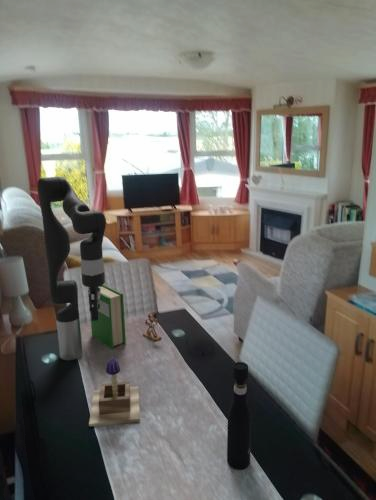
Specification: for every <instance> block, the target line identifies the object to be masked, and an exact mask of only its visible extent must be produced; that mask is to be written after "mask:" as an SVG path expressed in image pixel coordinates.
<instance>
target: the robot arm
mask: <svg viewBox="0 0 376 500" xmlns="http://www.w3.org/2000/svg"><path fill="white" fill-rule="evenodd" d="M36 190H37V196H38V201H39V207H40V212H41V218H42V227H43V237H44V238H43V239H44V246H45V247H44V248H45V254H46V255H45V256H46V261H47V269H48V271H47V272H48V286H49V289H48V290H49V297H50V301H51V303H52V305H64V304H68V305H67V306H65V307H63V308H62V307H61V308H60V309H59V310H57V312H56V314H55V320H56V329H57V330H56V331H57V339H58V347H59V357H60V359H61V360H64V361H74V360H77V359H79V358H81V357H82V356H83V343H82V331H81V320H80V311H79V310H80V309H79V290H78V289H79V288H78V283H77V281H75V280H73V279H71V280H70V279H69V280H59V281H58V277H59V274H60V271H61V269H62V268H63V266H64V264H65V262H66V261H67V259H68V257H69V255H70V252H71V244H70V242H71V241H70V235H69V232H68V231H67V229H66V228H65V226H64V224H62V223H61V222H60V220H59V219H58V218H57V217H56V215H55V213H54V212H53V208H52V204H51V203H57V202H58V203H59V202H62V210H63V212H64V214H65V215H66V216H67V217H68V218H69V219H70V221H71V225H72V228H73V230H74V233H77V234H79V235H87V234H91V235H90V237H88V238H86V239H84V240H82V241H80V243H79V251H80V274H81V284H82V286H83V287H86V288H89V290H87V295H88V304H89V305H88V306H89V312H90V311H91V315H90V318H91V317H92V321H97V320H98V319H99V317H98V310H99V309H100V301H99V299H100V292H101V288H100V287H99V286H101V285H103V284H104V285H105V283H106V275H105V263H104V257H103V254H104V253H103V242H104V235H105V231H106V227H107V219H106V218H107V217H106V216H105V213H104V212H103V211H101V210H99V209H98V210H97V209H96V210H95V209H94V210H90V208H89V206H88V205H87V204H85V202H84V201H83V200H81V199H80V197H78V195H77V194H76V191H75V190H74V188H73V187H72V185H71V183H70V182H69V181H68V179H67V178H65V177H63V176H52V177H51V176H50V177H41V178H39V179H38V180H37V185H36ZM92 305H93V307H92Z"/></svg>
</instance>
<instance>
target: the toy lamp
mask: <svg viewBox="0 0 376 500" xmlns="http://www.w3.org/2000/svg"><path fill="white" fill-rule="evenodd" d="M105 372H106V374H107V375H110V376H111V377H110V378H111V383H112V387H113V388H112V390H113V397H118V391H117V390H118V388H117V382H118V379H117V377H118V376H117V374H119V373H120V372H121V367H120V364H119V361H118V359H117V358H114V357H113V358H109V359H108V360H107V364H106V369H105Z"/></svg>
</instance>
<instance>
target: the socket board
mask: <svg viewBox="0 0 376 500" xmlns="http://www.w3.org/2000/svg"><path fill="white" fill-rule="evenodd" d="M112 388H113V387H112V382H105V383H104V382H103V383H100V388H99V389H97V390H93V395H92V401H91V408H90V415H89V421H88V426H89V427H98V426H99V427H100V426H108V425H118V424H126V423H127V424H128V423H137V422H140V421H141V413H140V389H139V388H140V386H131V381H130V380H129V381H127V380H126V381H117V388H118V390H117V391H118V397H113V390H112Z"/></svg>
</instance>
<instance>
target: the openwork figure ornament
mask: <svg viewBox="0 0 376 500" xmlns="http://www.w3.org/2000/svg"><path fill="white" fill-rule="evenodd" d="M147 317H148V319H146V320H145V326H148V328H147V331H146V332H144V333H142V336H143V337H145V338H146V337H147V339H149V340H151V341H153V342H155V341H156V342H158V341H160V340H161V339H162V336H160V335H158V334H157V332H156V329H155V326H157V325H158V323H159V321H158V319H157V318H155V315H154V313H152V312H151V313H148V316H147ZM148 321H149V322H148ZM150 329H151V330H150Z"/></svg>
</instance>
